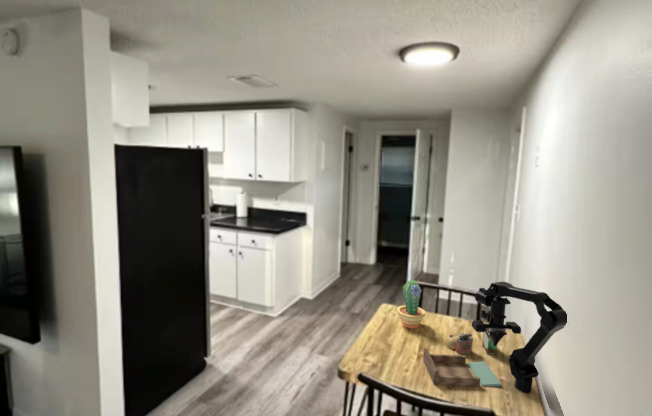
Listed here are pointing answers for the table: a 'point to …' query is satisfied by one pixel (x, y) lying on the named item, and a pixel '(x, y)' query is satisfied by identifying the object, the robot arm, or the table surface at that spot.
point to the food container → (488, 343)
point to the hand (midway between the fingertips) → (494, 345)
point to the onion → (451, 341)
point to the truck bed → (449, 370)
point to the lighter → (464, 343)
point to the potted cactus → (411, 305)
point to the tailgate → (484, 374)
